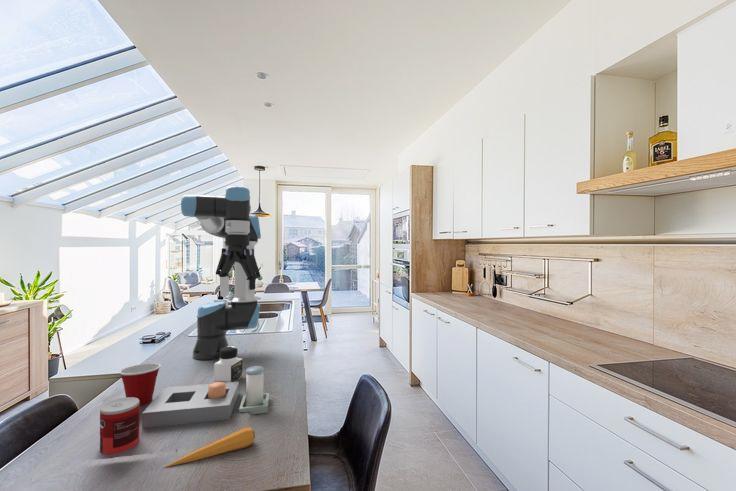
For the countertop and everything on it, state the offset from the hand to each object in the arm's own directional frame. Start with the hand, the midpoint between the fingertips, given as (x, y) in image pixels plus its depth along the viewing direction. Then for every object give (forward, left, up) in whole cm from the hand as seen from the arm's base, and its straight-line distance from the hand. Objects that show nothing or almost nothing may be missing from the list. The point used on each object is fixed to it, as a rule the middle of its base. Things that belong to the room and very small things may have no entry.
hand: (237, 297), depth 109 cm
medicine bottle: (-14, -5, -33) cm, 36 cm away
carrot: (+31, -1, -33) cm, 45 cm away
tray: (+9, +7, -33) cm, 35 cm away
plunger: (+9, -4, -31) cm, 33 cm away
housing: (+9, -10, -33) cm, 35 cm away
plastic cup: (+1, -28, -33) cm, 43 cm away
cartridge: (+9, +7, -32) cm, 34 cm away
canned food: (+24, -23, -33) cm, 47 cm away
